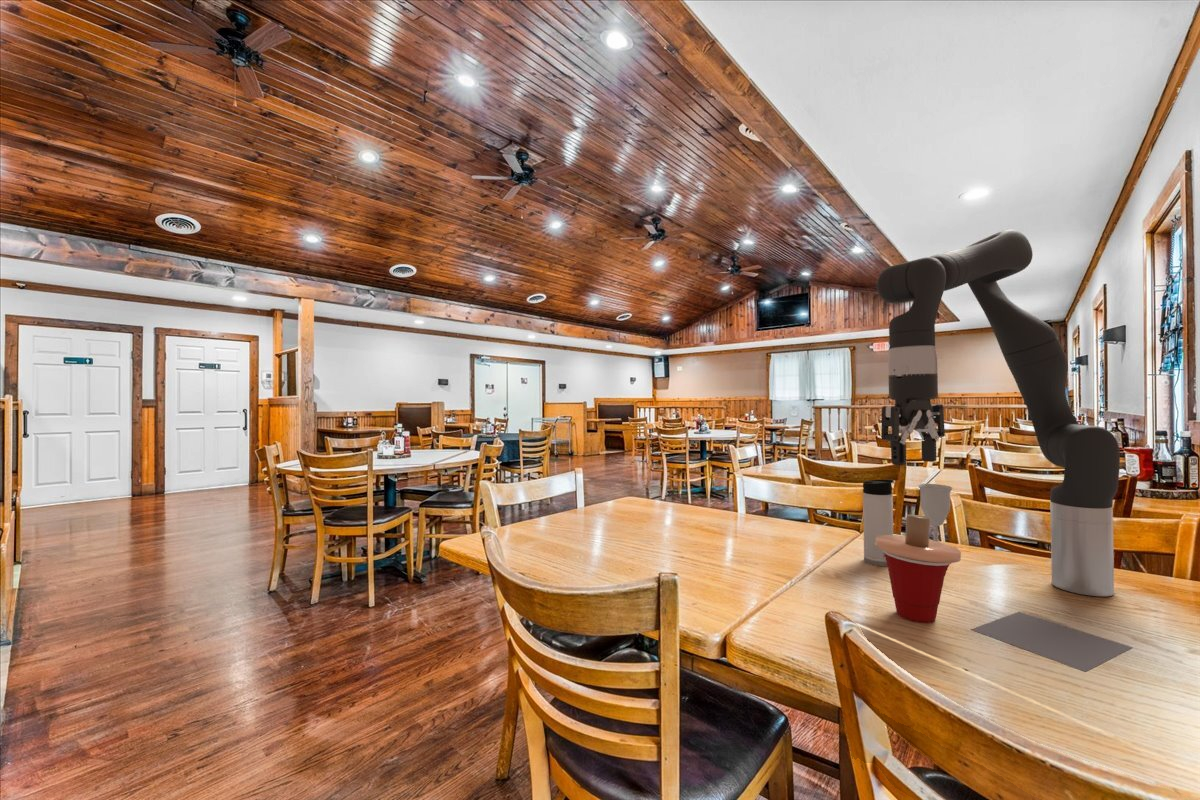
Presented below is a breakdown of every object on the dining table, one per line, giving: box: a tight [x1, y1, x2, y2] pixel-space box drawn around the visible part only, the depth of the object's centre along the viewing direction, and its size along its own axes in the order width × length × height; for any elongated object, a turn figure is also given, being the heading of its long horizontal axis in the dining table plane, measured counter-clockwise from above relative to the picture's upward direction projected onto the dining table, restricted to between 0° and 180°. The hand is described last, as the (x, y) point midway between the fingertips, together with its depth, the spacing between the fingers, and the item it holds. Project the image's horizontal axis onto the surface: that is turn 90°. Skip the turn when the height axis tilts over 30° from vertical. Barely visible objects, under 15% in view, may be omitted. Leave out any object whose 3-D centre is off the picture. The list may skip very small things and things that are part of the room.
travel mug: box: [862, 478, 895, 567], centre depth 122 cm, size 6×7×20 cm
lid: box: [875, 514, 962, 564], centre depth 92 cm, size 13×13×6 cm
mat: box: [970, 611, 1134, 673], centre depth 82 cm, size 15×15×1 cm
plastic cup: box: [882, 550, 952, 624], centre depth 91 cm, size 11×11×12 cm
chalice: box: [917, 483, 953, 543], centre depth 122 cm, size 7×7×18 cm
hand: (914, 463), depth 91 cm, fingers open, 8 cm apart
